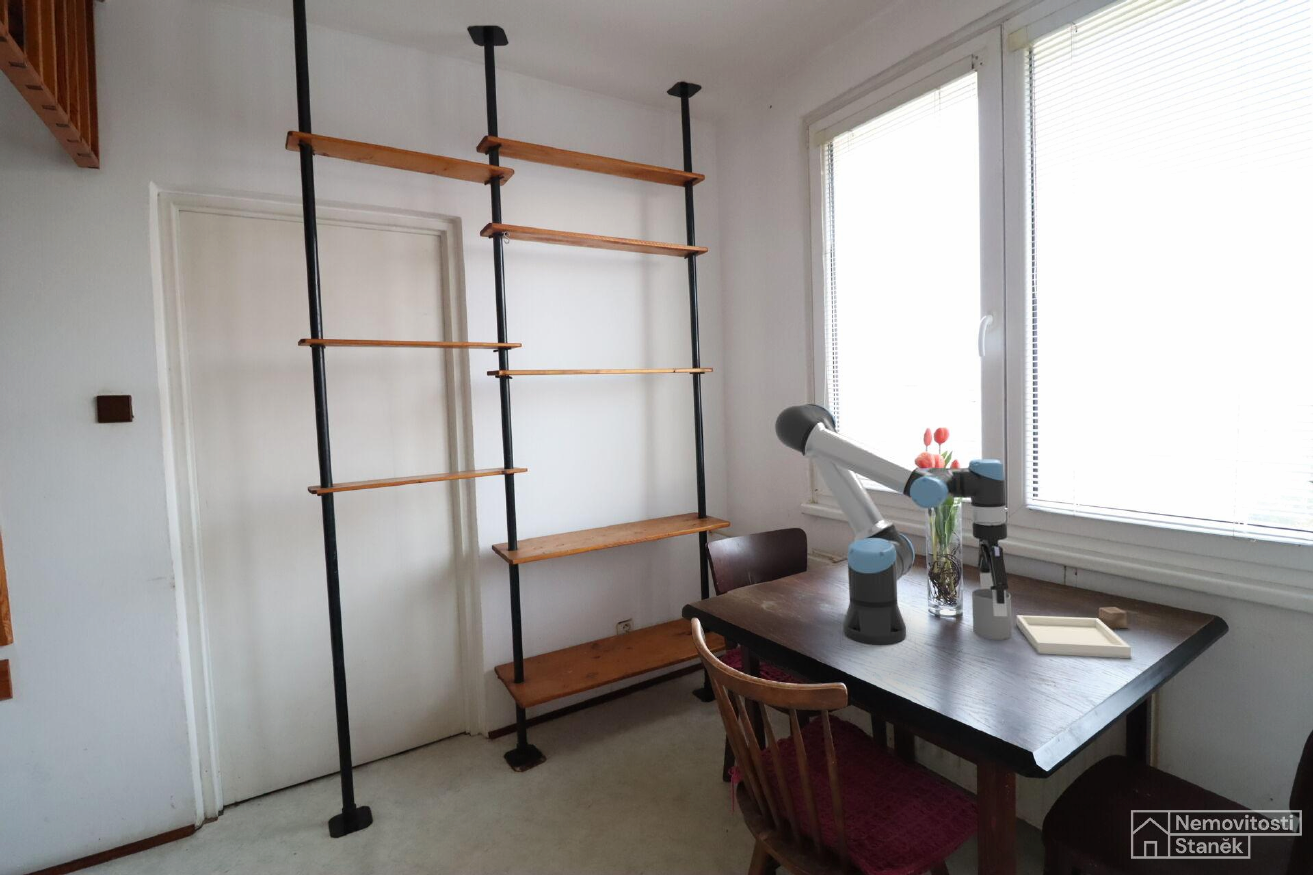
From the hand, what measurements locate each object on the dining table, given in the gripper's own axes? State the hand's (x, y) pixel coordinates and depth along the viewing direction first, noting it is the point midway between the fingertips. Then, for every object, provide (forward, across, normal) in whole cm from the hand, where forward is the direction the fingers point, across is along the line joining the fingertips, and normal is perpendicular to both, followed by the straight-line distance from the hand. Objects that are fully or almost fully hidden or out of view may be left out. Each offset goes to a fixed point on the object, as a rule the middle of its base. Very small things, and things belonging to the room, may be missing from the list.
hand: (993, 606), depth 154 cm
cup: (+7, 0, +1) cm, 7 cm away
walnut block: (+7, +9, -28) cm, 31 cm away
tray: (+7, -2, -15) cm, 17 cm away
